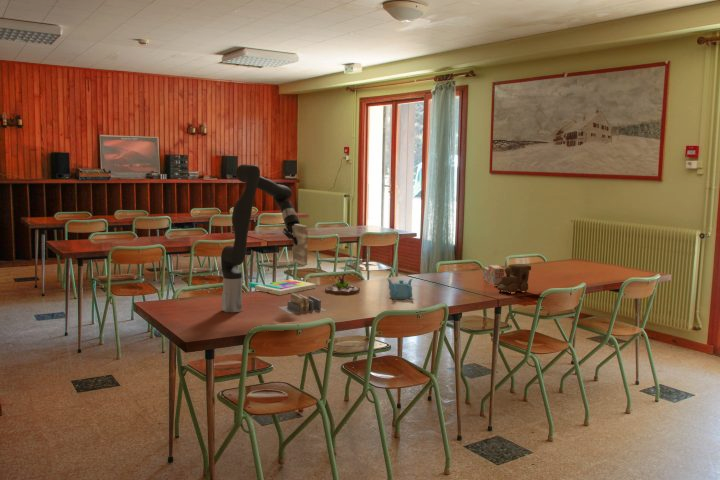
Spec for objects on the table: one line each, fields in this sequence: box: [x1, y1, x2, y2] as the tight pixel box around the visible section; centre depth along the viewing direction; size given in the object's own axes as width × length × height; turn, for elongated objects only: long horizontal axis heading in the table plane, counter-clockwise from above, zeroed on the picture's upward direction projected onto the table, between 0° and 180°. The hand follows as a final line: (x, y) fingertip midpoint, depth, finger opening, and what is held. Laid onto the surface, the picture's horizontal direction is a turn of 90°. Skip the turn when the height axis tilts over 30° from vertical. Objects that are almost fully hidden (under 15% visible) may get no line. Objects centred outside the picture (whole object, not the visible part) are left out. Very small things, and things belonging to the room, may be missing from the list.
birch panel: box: [292, 223, 309, 266], centre depth 340 cm, size 2×12×20 cm, turn 29°
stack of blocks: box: [482, 264, 505, 285], centre depth 426 cm, size 21×6×12 cm, turn 9°
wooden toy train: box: [496, 263, 532, 293], centre depth 400 cm, size 20×11×17 cm, turn 125°
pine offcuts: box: [290, 292, 309, 312], centre depth 335 cm, size 5×12×7 cm, turn 29°
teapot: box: [386, 278, 414, 300], centre depth 376 cm, size 15×15×10 cm
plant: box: [324, 273, 361, 296], centre depth 389 cm, size 20×20×11 cm
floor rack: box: [278, 295, 326, 315], centre depth 336 cm, size 20×16×6 cm
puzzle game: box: [248, 278, 317, 296], centre depth 394 cm, size 30×3×30 cm
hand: (299, 244), depth 341 cm, fingers closed on birch panel, 2 cm apart
